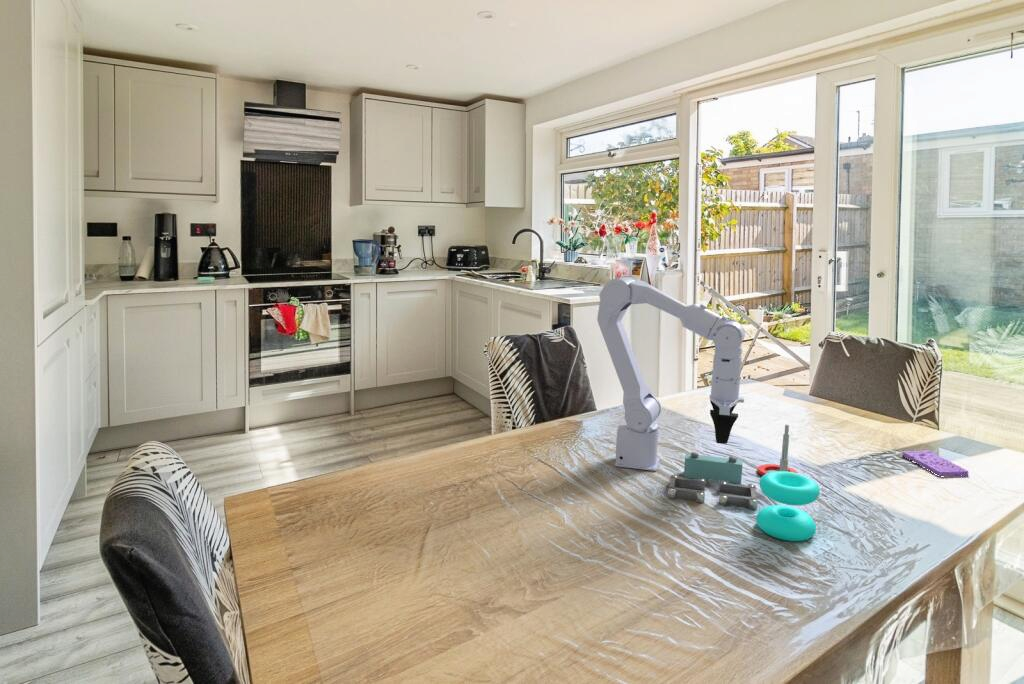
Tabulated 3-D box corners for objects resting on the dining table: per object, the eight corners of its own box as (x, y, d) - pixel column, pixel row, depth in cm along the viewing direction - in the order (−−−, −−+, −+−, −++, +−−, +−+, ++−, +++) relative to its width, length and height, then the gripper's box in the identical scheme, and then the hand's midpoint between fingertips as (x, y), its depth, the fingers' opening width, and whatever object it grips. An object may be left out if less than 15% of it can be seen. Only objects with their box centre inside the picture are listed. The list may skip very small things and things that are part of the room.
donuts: (802, 468, 117) (831, 490, 107) (797, 516, 118) (826, 543, 109) (750, 469, 116) (775, 491, 106) (746, 518, 118) (771, 545, 108)
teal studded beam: (683, 477, 137) (685, 454, 136) (684, 472, 140) (685, 450, 139) (740, 484, 134) (742, 461, 133) (740, 478, 136) (742, 456, 135)
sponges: (928, 457, 150) (929, 449, 149) (969, 478, 137) (970, 470, 137) (900, 457, 149) (901, 450, 149) (938, 479, 137) (939, 471, 137)
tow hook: (753, 467, 143) (763, 482, 134) (757, 414, 141) (767, 425, 132) (791, 470, 142) (804, 484, 133) (795, 415, 140) (808, 427, 131)
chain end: (667, 498, 126) (667, 490, 126) (670, 482, 134) (670, 474, 134) (704, 503, 124) (704, 495, 124) (705, 486, 132) (705, 478, 132)
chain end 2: (718, 505, 123) (719, 497, 123) (718, 488, 131) (719, 480, 131) (757, 510, 121) (758, 502, 121) (754, 492, 129) (755, 484, 129)
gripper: (747, 387, 124) (742, 450, 127) (744, 370, 138) (739, 428, 141) (711, 384, 127) (706, 446, 129) (711, 368, 140) (707, 425, 143)
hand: (721, 437), depth 135 cm, fingers open, 7 cm apart
